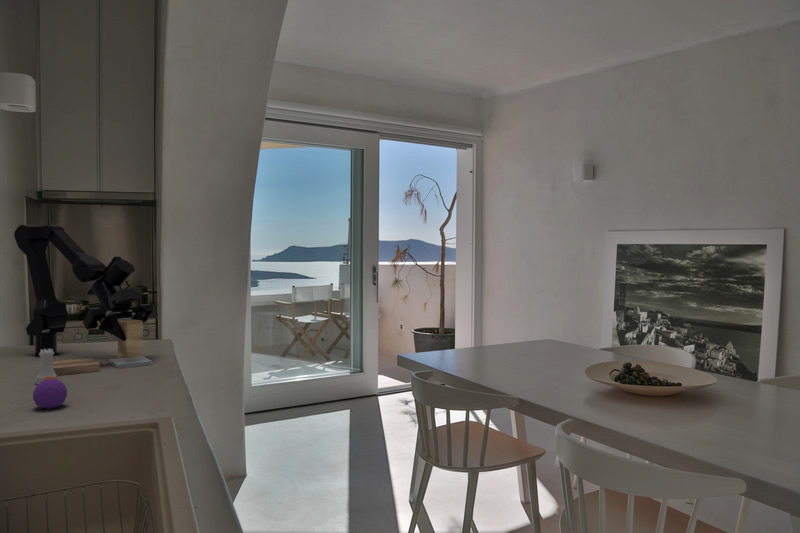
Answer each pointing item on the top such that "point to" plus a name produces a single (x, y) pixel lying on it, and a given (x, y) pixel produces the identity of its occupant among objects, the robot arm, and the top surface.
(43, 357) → the rook chess piece
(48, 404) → the purple round ball
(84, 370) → the walnut ledge
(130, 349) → the oak block
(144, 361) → the slate tile
